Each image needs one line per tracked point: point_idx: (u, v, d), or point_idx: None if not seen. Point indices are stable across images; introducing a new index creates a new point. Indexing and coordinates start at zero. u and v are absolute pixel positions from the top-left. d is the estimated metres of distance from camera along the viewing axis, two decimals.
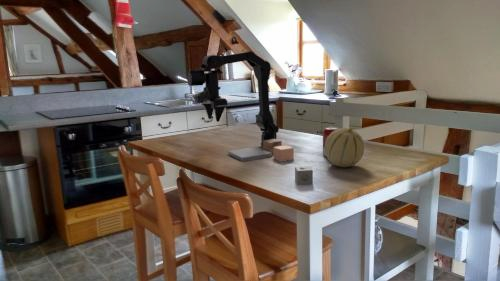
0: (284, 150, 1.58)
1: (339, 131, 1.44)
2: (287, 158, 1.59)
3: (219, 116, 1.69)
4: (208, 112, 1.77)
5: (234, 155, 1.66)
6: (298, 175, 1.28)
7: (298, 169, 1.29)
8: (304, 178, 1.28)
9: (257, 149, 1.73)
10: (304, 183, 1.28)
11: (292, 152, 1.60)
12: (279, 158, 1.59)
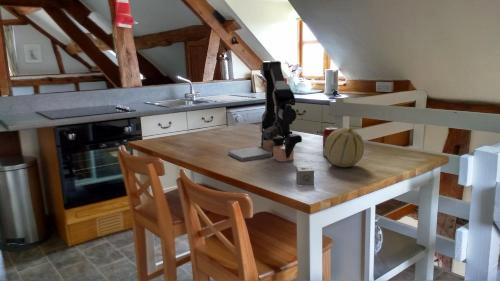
0: (284, 150, 1.58)
1: (339, 131, 1.44)
2: (287, 158, 1.59)
3: (289, 152, 1.58)
4: None
5: (234, 155, 1.66)
6: (299, 175, 1.27)
7: (299, 169, 1.28)
8: (305, 178, 1.28)
9: (257, 149, 1.73)
10: (305, 183, 1.28)
11: (292, 152, 1.60)
12: (279, 158, 1.59)
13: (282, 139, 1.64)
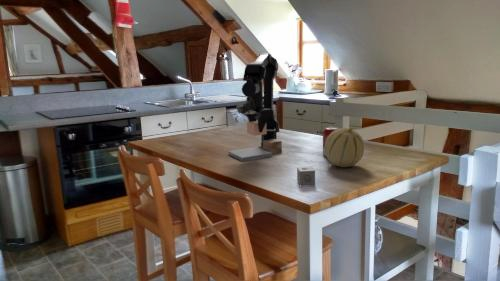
0: (257, 124, 1.61)
1: (339, 131, 1.44)
2: None
3: (262, 127, 1.62)
4: None
5: (234, 155, 1.66)
6: (300, 176, 1.27)
7: (300, 169, 1.28)
8: (306, 179, 1.27)
9: (257, 149, 1.73)
10: (306, 184, 1.28)
11: (265, 126, 1.63)
12: (252, 132, 1.62)
13: (255, 115, 1.68)
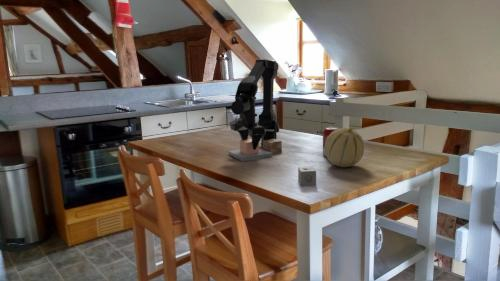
0: (249, 143, 1.65)
1: (339, 131, 1.44)
2: (252, 151, 1.66)
3: (256, 144, 1.63)
4: (243, 139, 1.72)
5: (234, 155, 1.66)
6: (301, 176, 1.27)
7: (301, 170, 1.28)
8: (307, 179, 1.27)
9: None
10: (307, 184, 1.27)
11: None
12: (245, 151, 1.66)
13: (247, 130, 1.72)
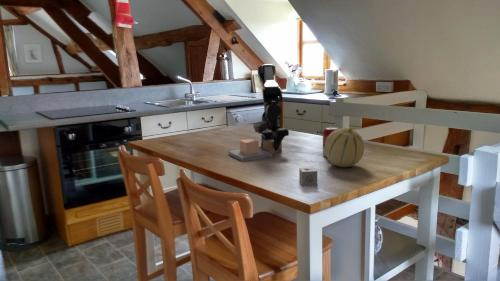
0: (249, 143, 1.65)
1: (339, 131, 1.44)
2: (252, 151, 1.66)
3: (278, 145, 1.71)
4: None
5: (234, 155, 1.66)
6: (303, 176, 1.26)
7: (302, 170, 1.27)
8: (309, 179, 1.27)
9: None
10: (309, 184, 1.27)
11: (257, 145, 1.67)
12: (245, 151, 1.66)
13: (271, 133, 1.78)
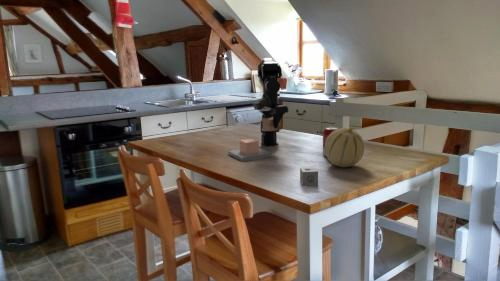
0: (249, 143, 1.65)
1: (339, 131, 1.44)
2: (252, 151, 1.66)
3: (277, 123, 1.69)
4: None
5: (234, 155, 1.66)
6: (303, 176, 1.26)
7: (303, 170, 1.27)
8: (309, 179, 1.26)
9: None
10: (309, 184, 1.27)
11: (257, 145, 1.67)
12: (245, 151, 1.66)
13: (271, 111, 1.76)
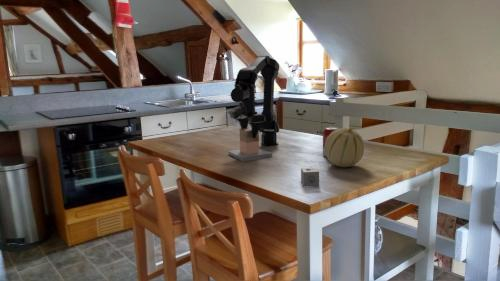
0: (249, 143, 1.65)
1: (339, 131, 1.44)
2: (252, 151, 1.66)
3: (256, 132, 1.62)
4: (243, 127, 1.71)
5: (234, 155, 1.66)
6: (304, 176, 1.26)
7: (304, 170, 1.27)
8: (310, 180, 1.26)
9: None
10: (310, 185, 1.26)
11: (257, 145, 1.67)
12: (245, 151, 1.66)
13: (247, 119, 1.71)
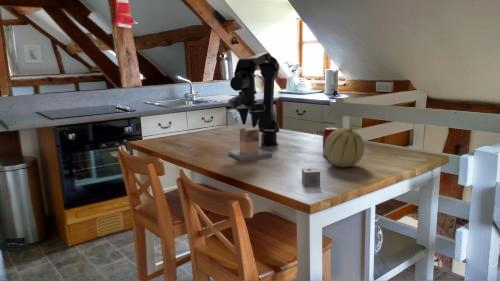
0: (249, 143, 1.65)
1: (339, 131, 1.44)
2: (252, 151, 1.66)
3: (255, 122, 1.61)
4: (242, 117, 1.70)
5: (234, 155, 1.66)
6: (305, 177, 1.26)
7: (305, 171, 1.27)
8: (311, 180, 1.26)
9: None
10: (311, 185, 1.26)
11: (257, 145, 1.67)
12: (245, 151, 1.66)
13: (246, 109, 1.70)
